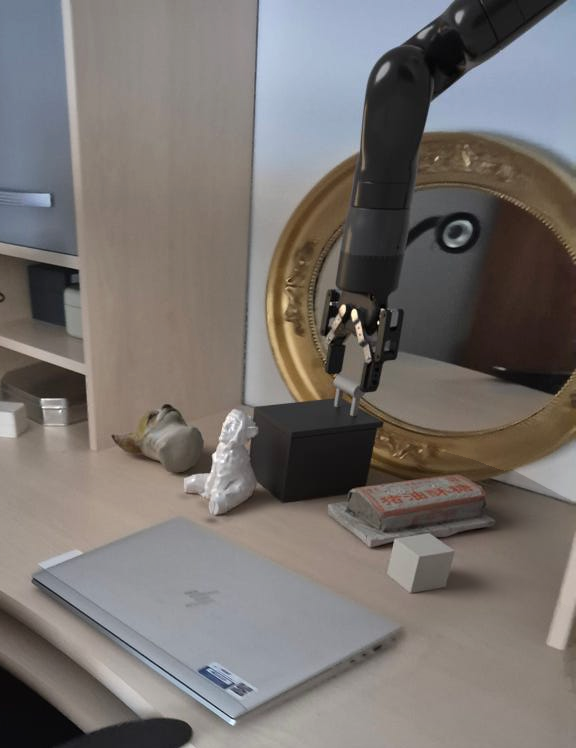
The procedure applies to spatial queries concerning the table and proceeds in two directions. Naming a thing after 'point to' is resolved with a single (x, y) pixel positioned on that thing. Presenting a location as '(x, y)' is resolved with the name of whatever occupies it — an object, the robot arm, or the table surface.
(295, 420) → the box lid
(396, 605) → the table surface
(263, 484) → the open hinged box
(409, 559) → the off-white matte cube
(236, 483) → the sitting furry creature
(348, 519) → the packaged product
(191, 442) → the ceramic sculpture
